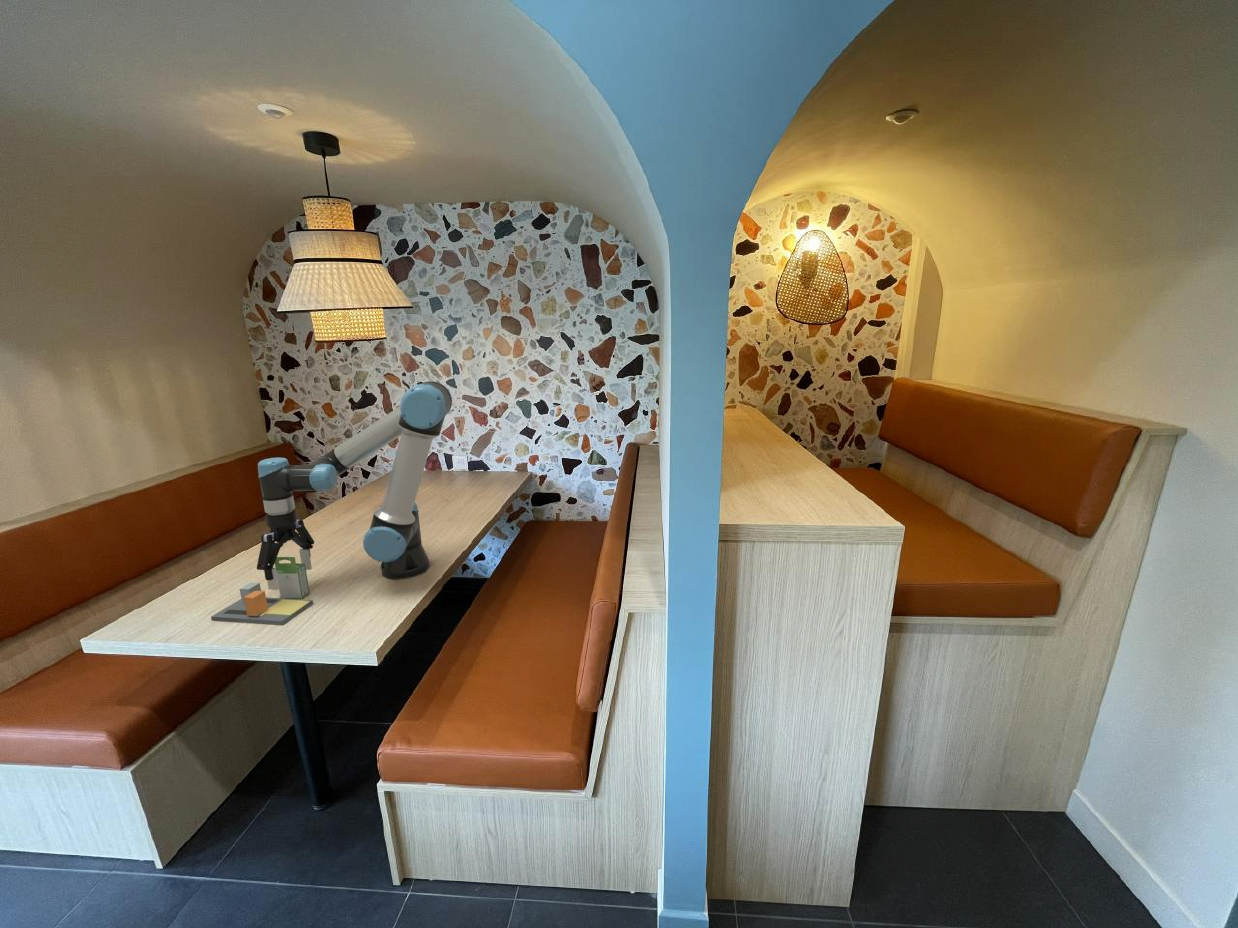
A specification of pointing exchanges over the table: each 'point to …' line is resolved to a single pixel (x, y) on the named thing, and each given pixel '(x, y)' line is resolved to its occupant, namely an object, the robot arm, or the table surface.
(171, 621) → the table surface
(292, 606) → the pad
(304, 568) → the ink box
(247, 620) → the panel
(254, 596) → the lever
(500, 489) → the table surface
